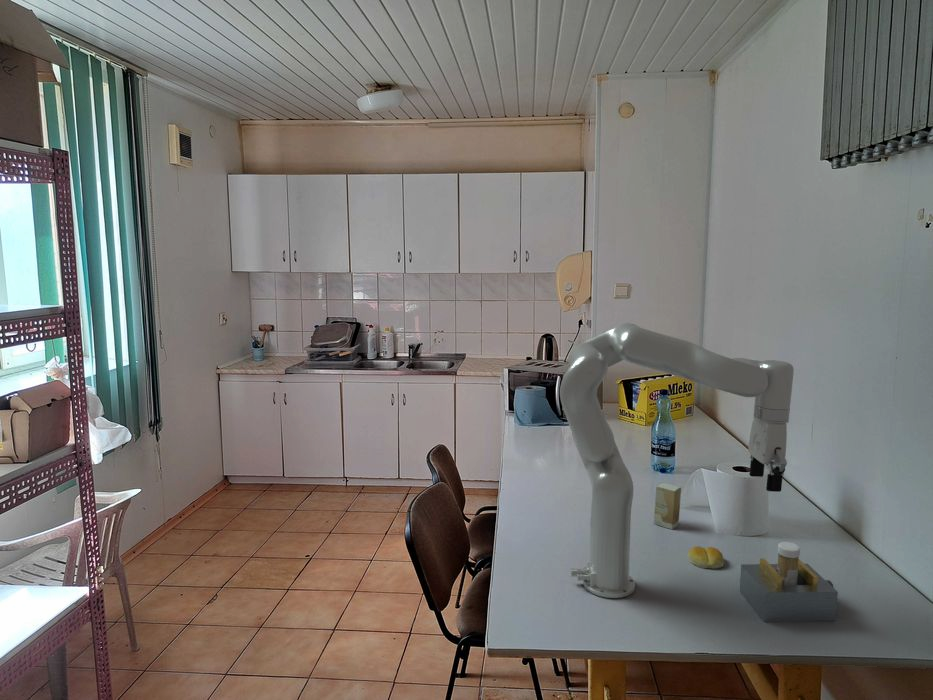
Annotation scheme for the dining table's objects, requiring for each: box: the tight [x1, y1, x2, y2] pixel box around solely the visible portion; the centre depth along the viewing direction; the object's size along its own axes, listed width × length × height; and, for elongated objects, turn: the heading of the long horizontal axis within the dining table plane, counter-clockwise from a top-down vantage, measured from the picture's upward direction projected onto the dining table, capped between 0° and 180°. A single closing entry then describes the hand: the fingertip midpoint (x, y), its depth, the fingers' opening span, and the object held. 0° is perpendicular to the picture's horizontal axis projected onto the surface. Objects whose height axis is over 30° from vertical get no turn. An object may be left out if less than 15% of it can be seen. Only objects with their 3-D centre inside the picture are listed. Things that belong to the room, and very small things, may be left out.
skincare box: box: [653, 482, 682, 530], centre depth 196 cm, size 6×4×12 cm
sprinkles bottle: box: [777, 541, 801, 586], centre depth 151 cm, size 5×5×13 cm
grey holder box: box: [739, 557, 839, 623], centre depth 152 cm, size 18×13×10 cm
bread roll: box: [687, 545, 725, 570], centre depth 174 cm, size 8×9×4 cm
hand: (764, 483), depth 156 cm, fingers open, 9 cm apart
